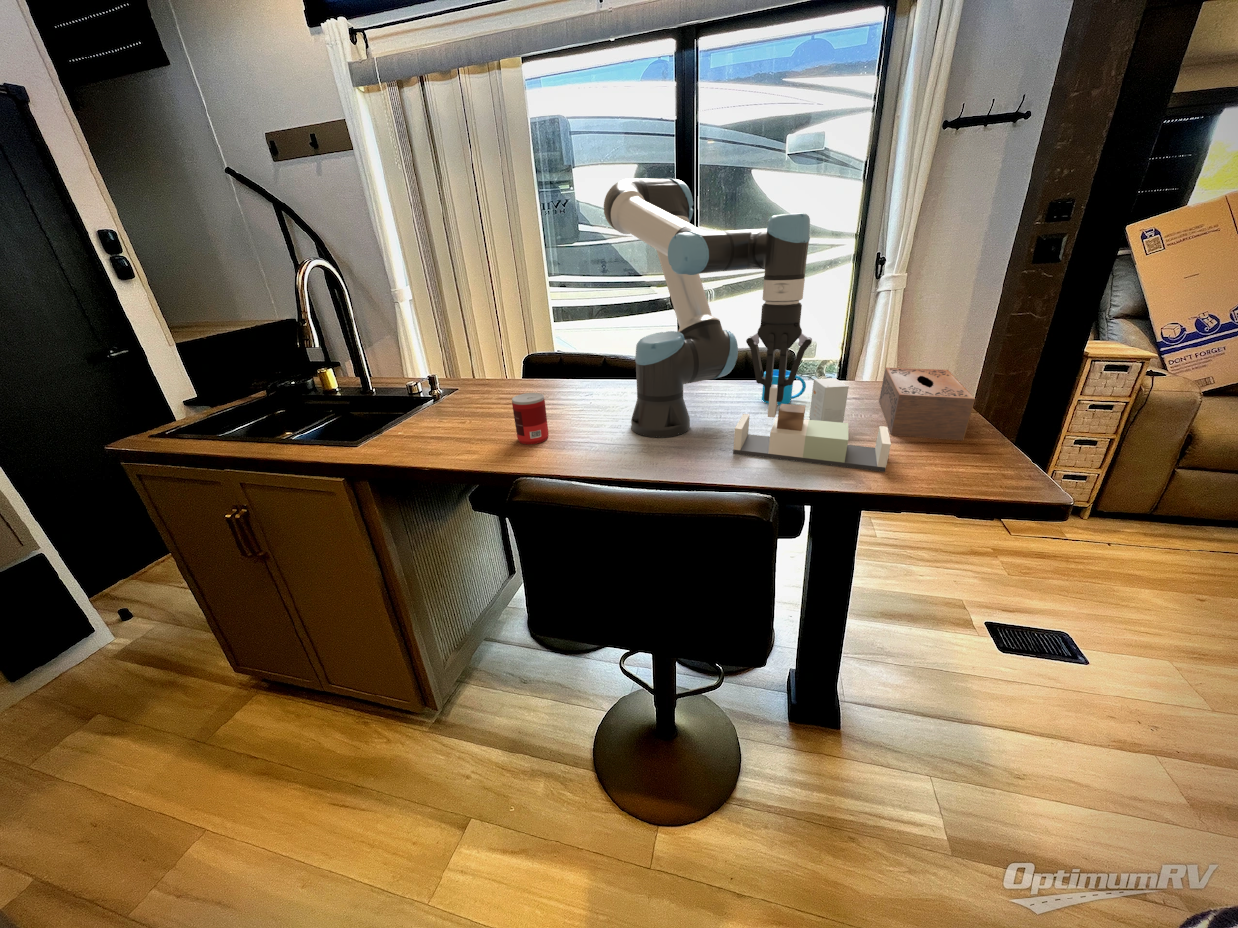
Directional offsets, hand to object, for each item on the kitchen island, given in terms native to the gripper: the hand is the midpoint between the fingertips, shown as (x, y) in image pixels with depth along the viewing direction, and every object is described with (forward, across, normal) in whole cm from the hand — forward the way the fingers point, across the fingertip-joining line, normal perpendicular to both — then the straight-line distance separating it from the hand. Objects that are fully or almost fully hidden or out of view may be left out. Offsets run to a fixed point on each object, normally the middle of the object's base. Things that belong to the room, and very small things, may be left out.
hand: (772, 415), depth 103 cm
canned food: (+8, -56, -11) cm, 58 cm away
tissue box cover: (+9, +32, +31) cm, 45 cm away
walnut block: (+2, +4, 0) cm, 5 cm away
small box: (+8, +11, +21) cm, 25 cm away
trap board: (+8, +8, 0) cm, 11 cm away
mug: (+8, -1, +37) cm, 38 cm away
